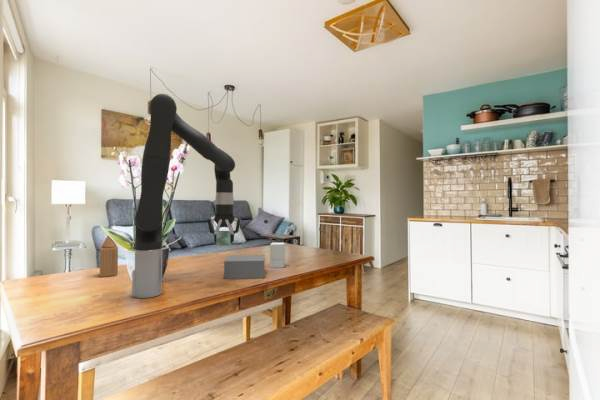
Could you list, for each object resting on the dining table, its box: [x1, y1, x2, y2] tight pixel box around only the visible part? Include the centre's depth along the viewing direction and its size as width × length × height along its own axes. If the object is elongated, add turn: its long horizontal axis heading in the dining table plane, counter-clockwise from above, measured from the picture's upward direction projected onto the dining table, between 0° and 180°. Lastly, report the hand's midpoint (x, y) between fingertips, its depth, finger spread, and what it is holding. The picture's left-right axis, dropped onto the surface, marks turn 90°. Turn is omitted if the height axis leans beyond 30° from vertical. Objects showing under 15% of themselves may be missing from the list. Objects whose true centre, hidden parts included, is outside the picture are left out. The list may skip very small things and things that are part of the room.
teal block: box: [215, 230, 232, 246], centre depth 127 cm, size 6×6×6 cm
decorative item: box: [99, 235, 119, 278], centre depth 140 cm, size 7×7×20 cm
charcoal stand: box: [223, 253, 266, 280], centre depth 143 cm, size 18×16×8 cm
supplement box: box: [269, 242, 286, 269], centre depth 161 cm, size 7×7×13 cm
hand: (224, 242), depth 127 cm, fingers closed on teal block, 5 cm apart
